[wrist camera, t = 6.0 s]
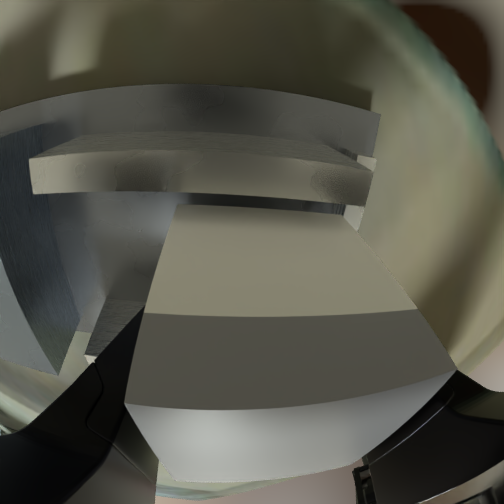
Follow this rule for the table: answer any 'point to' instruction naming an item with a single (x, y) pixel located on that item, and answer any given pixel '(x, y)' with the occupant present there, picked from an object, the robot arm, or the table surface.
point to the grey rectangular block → (275, 347)
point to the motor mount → (149, 193)
